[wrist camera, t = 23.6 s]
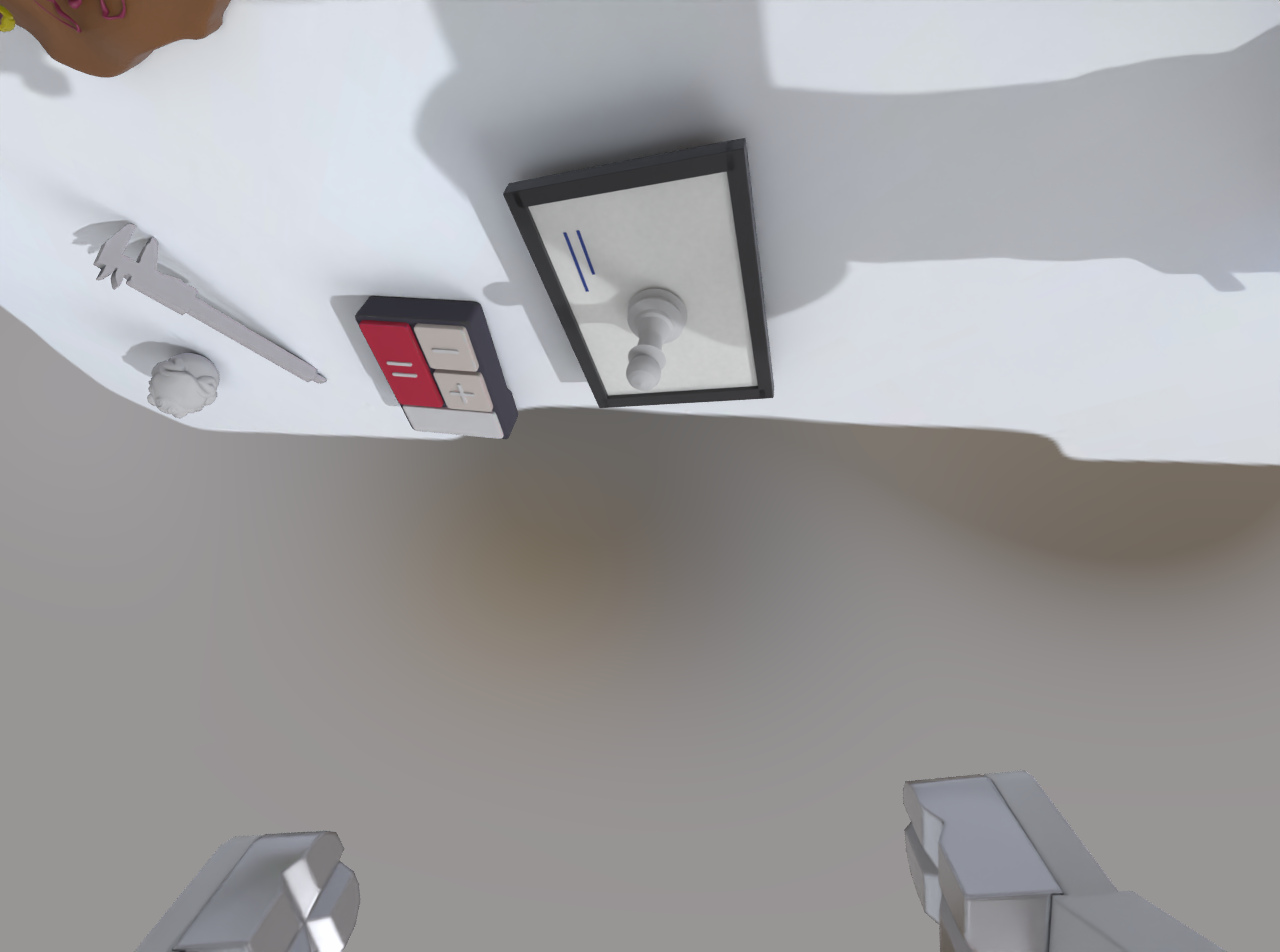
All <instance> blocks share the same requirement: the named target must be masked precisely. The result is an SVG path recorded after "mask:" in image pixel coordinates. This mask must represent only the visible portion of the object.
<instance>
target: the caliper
mask: <svg viewBox="0 0 1280 952" xmlns="http://www.w3.org/2000/svg"><path fill="white" fill-rule="evenodd" d="M135 228H136V226H135V225H133V224H127V225H126V226H124V227H123V228H122V229H121V230H119V231H118V232H117V233H116V234H115V235H114V236H112V237H111V238H110V239H109V240H108V241H107V242H106V243H104V244H103V245H102V246H101V249H100V251H99V253H98V255H97V257H96V260H95V262H94V264H93V265H95V266H97V267H98V268H100V269H101V271H100V273H99V275H98V277H97V279H96V280H102V279H104V278H106V277H107V276H109V275H110V274H111V273H112V272H113V273H112V276H111V284H112V288H113V289H114V290H115V289H116V288H117V287H119V286H120V284H121V282H122V280H123V278H125V279H127V282H126V284H127V285H128V286H130V287H132V288H134V289H135V290H137V291H139V292H141V293H143V294H144V295H146V296H148V297H150V298H152V299H154V300H155V301H157V302H159V303H161V304H163V305H164V306H166V307H168V308H170V309H172V310H173V311H175V312H177V313H179V314H181V315H183V314H185V313H187V314H189V315H191V316H192V317H194V318H196V319H198V320H199V321H201V322H203V323H205V324H206V325H208V326H210V327H212V328H213V329H215V330H217V331H219V332H220V333H222V334H224V335H226V336H227V337H229V338H231V339H233V340H234V341H236V342H238V343H240V344H241V345H243V346H245V347H247V348H248V349H250V350H252V351H254V352H255V353H257V354H259V355H261V356H262V357H264V358H266V359H268V360H269V361H271V362H273V363H275V364H276V365H278V366H280V367H282V368H283V369H285V370H287V371H289V372H291V373H292V374H294V375H296V376H298V377H299V378H301V379H303V380H305V381H306V382H310V381H312V380H313V381H314V382H316V383H318V384H319V383H324V382H326V381H327V380H326V379H325V378H324V377H322V376H320V375H318V374H316V372H317V369H316V368H314V367H313V366H311V365H309V364H308V363H306V362H304V361H303V360H301V359H299V358H297V357H296V356H294V355H292V354H291V353H289V352H287V351H286V350H284V349H282V348H280V347H279V346H277V345H275V344H274V343H272V342H270V341H269V340H267V339H265V338H263V337H262V336H260V335H258V334H257V333H255V332H253V331H252V330H250V329H248V328H247V327H245V326H243V325H242V324H240V323H238V322H237V321H235V320H233V319H232V318H230V317H228V316H227V315H225V314H223V313H222V312H220V311H218V310H216V309H215V308H213V307H211V306H210V305H208V304H206V303H205V302H203V301H201V300H200V299H198V298H196V295H197V292H198V290H197V289H196V288H194V287H191V286H189V285H187V284H185V283H184V282H183V281H182V280H180V279H178V278H176V277H173V276H170V275H164V274H162V273H161V272H159V271H158V270H157V251H158V243H157V241H156V238H154V237H153V238H151V239H150V240H149V241H148V242H147V243H146V246H144V247H143V249H142V251H141V253H140V255H139V257H138V259H137V261H136V262H135V261H134V260H132V259H130V258H128V257H126V256H125V255H123V253H124V251H125V249H126V246H127V244H128V242H129V240H130V238H131V235H132V233H133V231H134V230H135Z"/></svg>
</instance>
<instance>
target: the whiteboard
mask: <svg viewBox="0 0 1280 952" xmlns="http://www.w3.org/2000/svg"><path fill="white" fill-rule="evenodd" d="M503 195H504V197H505V199H506V202H507V204H508V206H509V208H510V210H511V213H512V215H513V217H514V219H515V222H516V224H517V226H518V228H519V230H520V233H521V235H522V237H523V239H524V242H525V244H526V246H527V248H528V250H529V253H530V255H531V257H532V259H533V261H534V264H535V266H536V268H537V270H538V273H539V275H540V277H541V279H542V281H543V284H544V286H545V288H546V290H547V293H548V295H549V297H550V299H551V301H552V304H553V306H554V308H555V310H556V312H557V315H558V317H559V319H560V321H561V324H562V326H563V328H564V330H565V332H566V335H567V337H568V339H569V341H570V344H571V346H572V348H573V350H574V352H575V355H576V357H577V359H578V361H579V363H580V366H581V368H582V370H583V372H584V375H585V377H586V379H587V381H588V383H589V386H590V388H591V390H592V392H593V395H594V397H595V399H596V401H597V403H598V406H599V408H608V407H625V406H643V405H660V404H677V403H694V402H712V401H729V400H746V399H763V398H773V397H774V382H773V373H772V364H771V356H770V347H769V338H768V330H767V321H766V312H765V304H764V295H763V286H762V277H761V269H760V260H759V251H758V243H757V234H756V225H755V217H754V208H753V199H752V190H751V182H750V173H749V164H748V156H747V147H746V139H745V138H742V139H737V140H731V141H726V142H721V143H716V144H711V145H705V146H700V147H695V148H690V149H685V150H680V151H674V152H669V153H664V154H659V155H654V156H648V157H643V158H638V159H633V160H628V161H623V162H617V163H612V164H607V165H602V166H597V167H591V168H586V169H581V170H576V171H571V172H566V173H560V174H555V175H550V176H545V177H540V178H534V179H529V180H524V181H519V182H513V183H509V184H508V186H507V188H506V189H505V191H504V193H503ZM647 289H663V290H666V291H669V292H671V293H673V294H674V295H675V296H677V297H678V298H679V299H680V300H681V301H682V302H683V304H684V306H685V307H686V311H687V322H686V324H685V326H684V328H683V331H682V333H681V334H680V336H679V337H678V338H677V339H675V340H674V341H672V342H669V343H666V344H663V345H662V352H663V354H664V355H665V358H666V364H665V366H664V368H663V369H662V370H661V378H660V381H659V383H658V384H657V385H656V386H655V387H654V388H652V389H650V390H647V391H641V390H637V389H635V388H634V387H632V386H631V385H630V384H629V382H628V380H627V377H626V369H627V366H628V364H629V361H628V353H629V351H630V350H631V349H632V348H633V347H635V346H637V344H638V341H639V338H638V337H637V336H636V335H635V334H634V333H633V332H632V331H631V329H630V328H629V325H628V321H627V316H628V312H627V311H628V305H629V302H630V300H631V299H632V298H633V297H634V296H635V295H636V294H637V293H639V292H641V291H644V290H647Z"/></svg>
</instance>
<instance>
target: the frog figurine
mask: <svg viewBox="0 0 1280 952" xmlns="http://www.w3.org/2000/svg"><path fill="white" fill-rule="evenodd" d="M152 376H153V377H152V378H151V380H150V381H149V384H150V387H149V392H150V394H149V395H148V397H147V399H148V402H149V403H150V404H151V405H153V406H157V408H158V409H159V410H160V411H162V412H164V413H167V414H172V415H173V416H174V417H177V418H183V417H185V416H186V415H187V413H194V412H197V411H201V410H202V408H203V407H204V406H206V405H210V404H212V403H213V402H214V401H215V399H216V397H217V392H216V390H217V387H218V385H219V380H220V378H219V373H218V370H217V368H216V367H215V365H214V364H213V363H212V362H211V361H210V360H208V359H207V358H205V357H203V356H201V355H197V354H192V353H184V354H179V355H176V356H174V357H172V358H170V359H169V360H168V361H163V362H160V363H158V364H157V365H156V366H155V367H154V368H153V370H152Z"/></svg>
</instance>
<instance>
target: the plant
mask: <svg viewBox="0 0 1280 952" xmlns="http://www.w3.org/2000/svg"><path fill="white" fill-rule="evenodd" d="M229 2H230V0H0V31H2V32H6V31H11V30H13V29H14V27H15V24H17V25H19V26H20V27H22V28H24V29H26V30H27V31H28V32H30V33H31V34H32V35H33V36H34V37H35V38H36V39H37V40H38V41H39V42H40V44H41V45H42V46H43V48H44V49H45V50H46V52H47V53H48V54H49V55H50V56H51V58H53V59H54V60H56V61H58V62H60V63H62V64H64V65H66V66H69V67H71V68H73V69H75V70H78V71H81V72H84V73H86V74H89V75H93V76H98V77H114V76H117V75H120V74H122V73H124V72H126V71H128V70H129V69H131V68H132V67H134V66H136V65H137V64H139V63H140V62H142V61H143V60H144V59H146V58H147V57H148V56H149V55H150V54H151V53H152V52H153V50H155V49H158V48H160V47H162V46H165V45H167V44H170V43H172V42H175V41H178V40H182V39H194V40H197V39H202V38H205V37H207V36H208V35H210V34H211V33H213V32H214V31H216V30H218V29H219V27H220V26H221V25H222V16H223V13H224V11H225V9H226V8H227V6H228V4H229Z"/></svg>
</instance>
